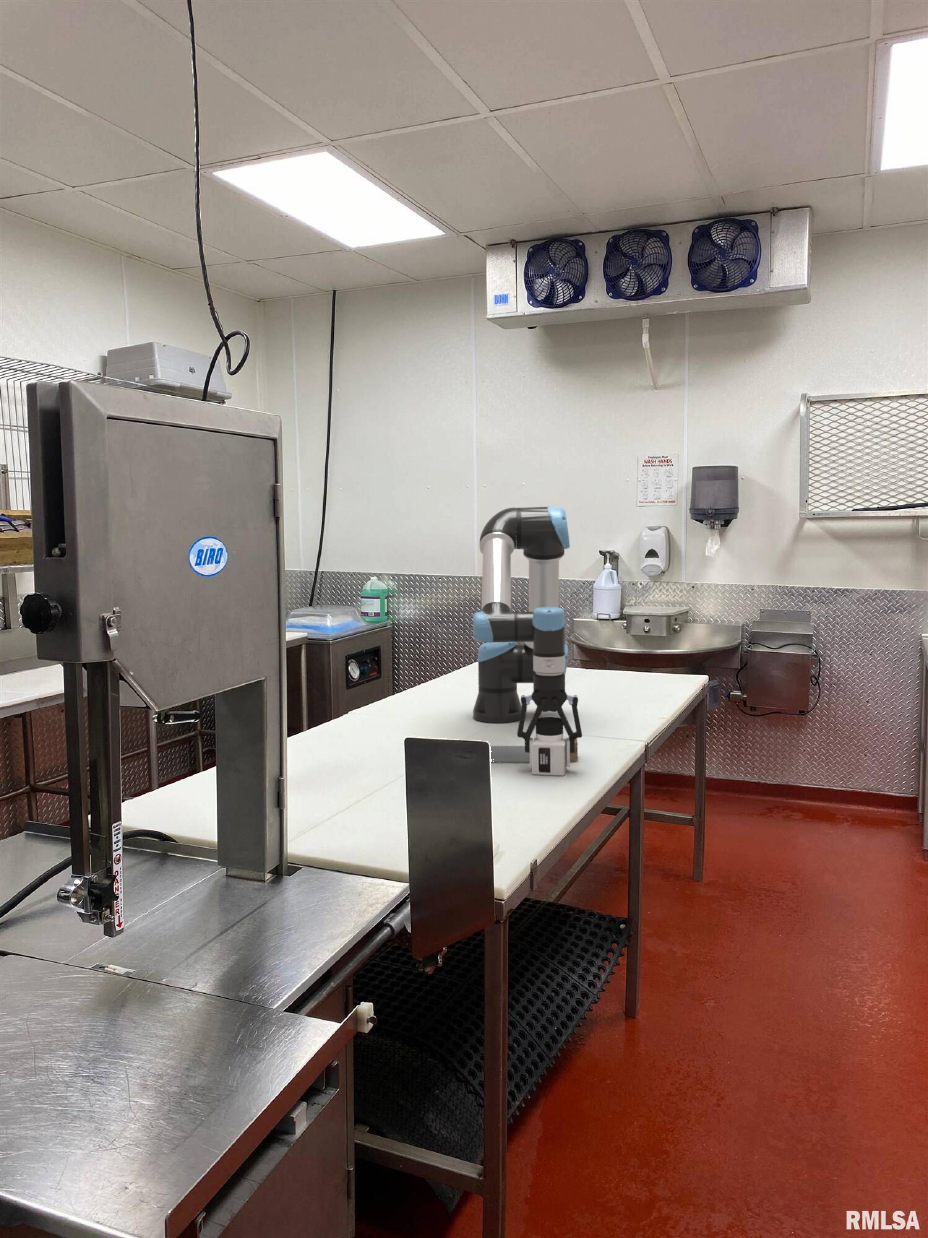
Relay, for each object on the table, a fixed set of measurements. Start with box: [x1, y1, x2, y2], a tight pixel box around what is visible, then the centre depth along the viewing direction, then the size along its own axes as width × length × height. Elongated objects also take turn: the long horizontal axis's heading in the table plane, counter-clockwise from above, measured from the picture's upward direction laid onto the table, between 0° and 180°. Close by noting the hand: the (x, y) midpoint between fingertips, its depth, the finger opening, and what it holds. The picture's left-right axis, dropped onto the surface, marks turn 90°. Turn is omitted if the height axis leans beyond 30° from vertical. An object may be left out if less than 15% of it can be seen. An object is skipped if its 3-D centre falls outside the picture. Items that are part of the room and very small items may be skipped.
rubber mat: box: [490, 745, 530, 764], centre depth 222 cm, size 14×14×1 cm
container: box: [531, 715, 568, 777], centre depth 208 cm, size 8×8×13 cm
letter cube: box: [566, 736, 579, 761], centre depth 218 cm, size 5×5×5 cm
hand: (549, 765), depth 208 cm, fingers closed on container, 8 cm apart
